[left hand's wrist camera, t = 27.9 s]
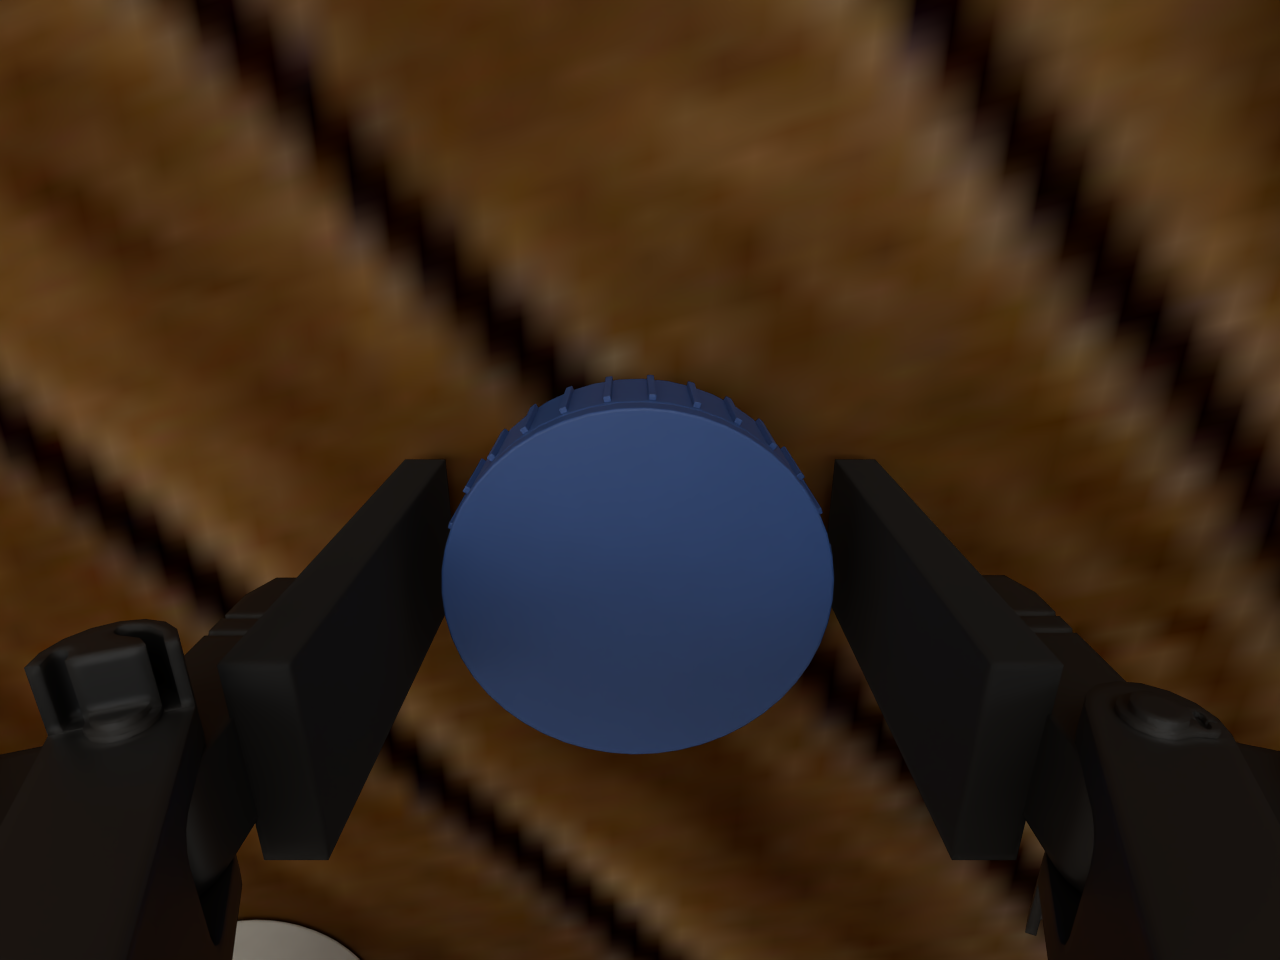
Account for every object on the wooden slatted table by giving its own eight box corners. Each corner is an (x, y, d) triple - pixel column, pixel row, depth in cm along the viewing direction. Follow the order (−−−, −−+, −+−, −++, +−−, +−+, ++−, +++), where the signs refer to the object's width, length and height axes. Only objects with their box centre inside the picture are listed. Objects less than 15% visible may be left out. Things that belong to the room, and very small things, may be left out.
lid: (399, 450, 12) (361, 491, 11) (749, 316, 12) (771, 336, 10) (546, 728, 14) (534, 800, 13) (850, 630, 14) (882, 692, 12)
